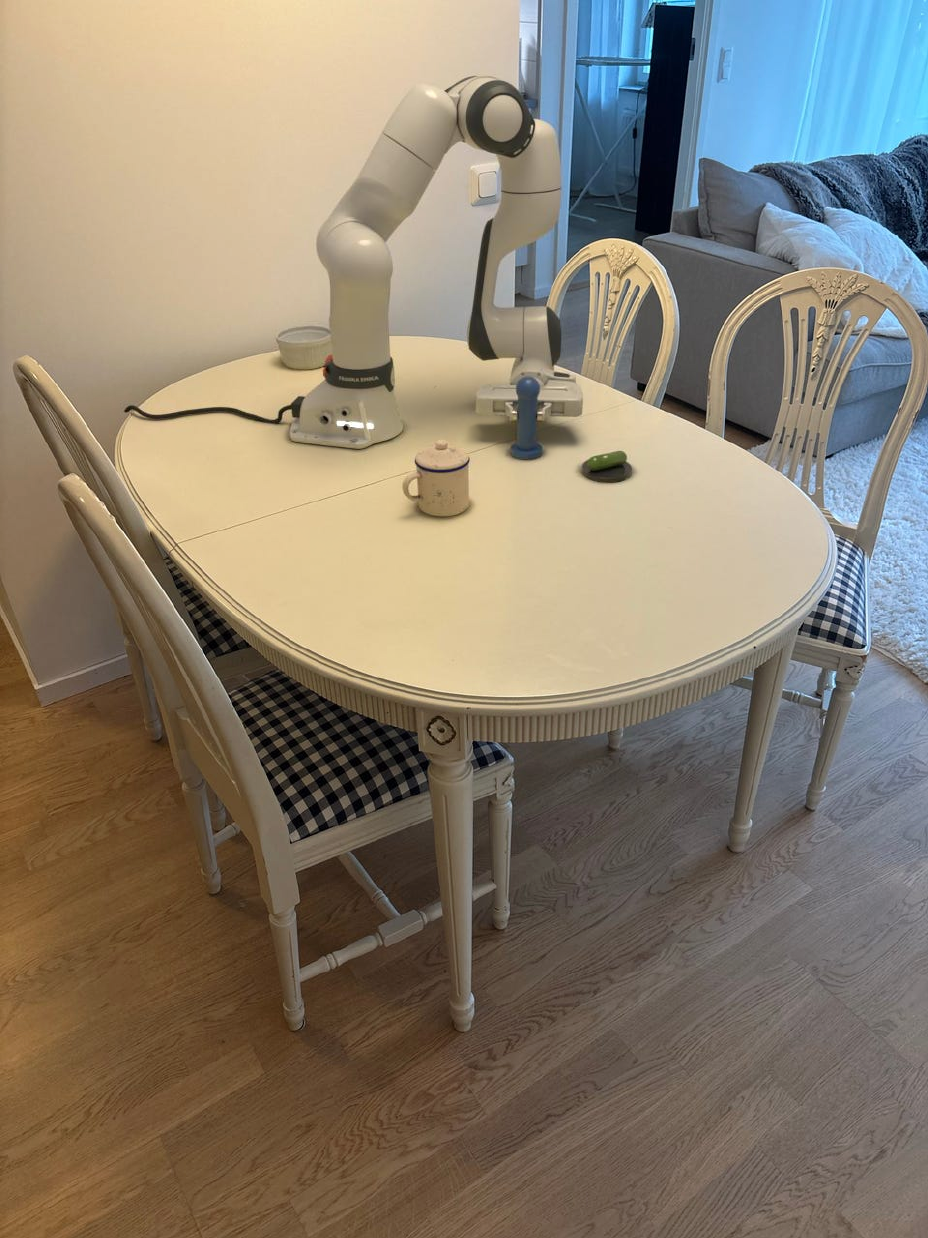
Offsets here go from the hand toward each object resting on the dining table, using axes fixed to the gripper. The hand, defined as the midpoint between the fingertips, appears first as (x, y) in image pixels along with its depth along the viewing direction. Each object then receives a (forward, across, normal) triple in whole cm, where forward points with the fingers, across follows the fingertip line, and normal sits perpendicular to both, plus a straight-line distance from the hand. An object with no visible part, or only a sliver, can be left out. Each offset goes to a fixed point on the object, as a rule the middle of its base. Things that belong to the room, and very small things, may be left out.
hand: (527, 417), depth 167 cm
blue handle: (-1, 0, +8) cm, 8 cm away
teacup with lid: (+22, -14, +8) cm, 27 cm away
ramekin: (-49, -54, +8) cm, 73 cm away
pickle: (+6, +15, +8) cm, 18 cm away
